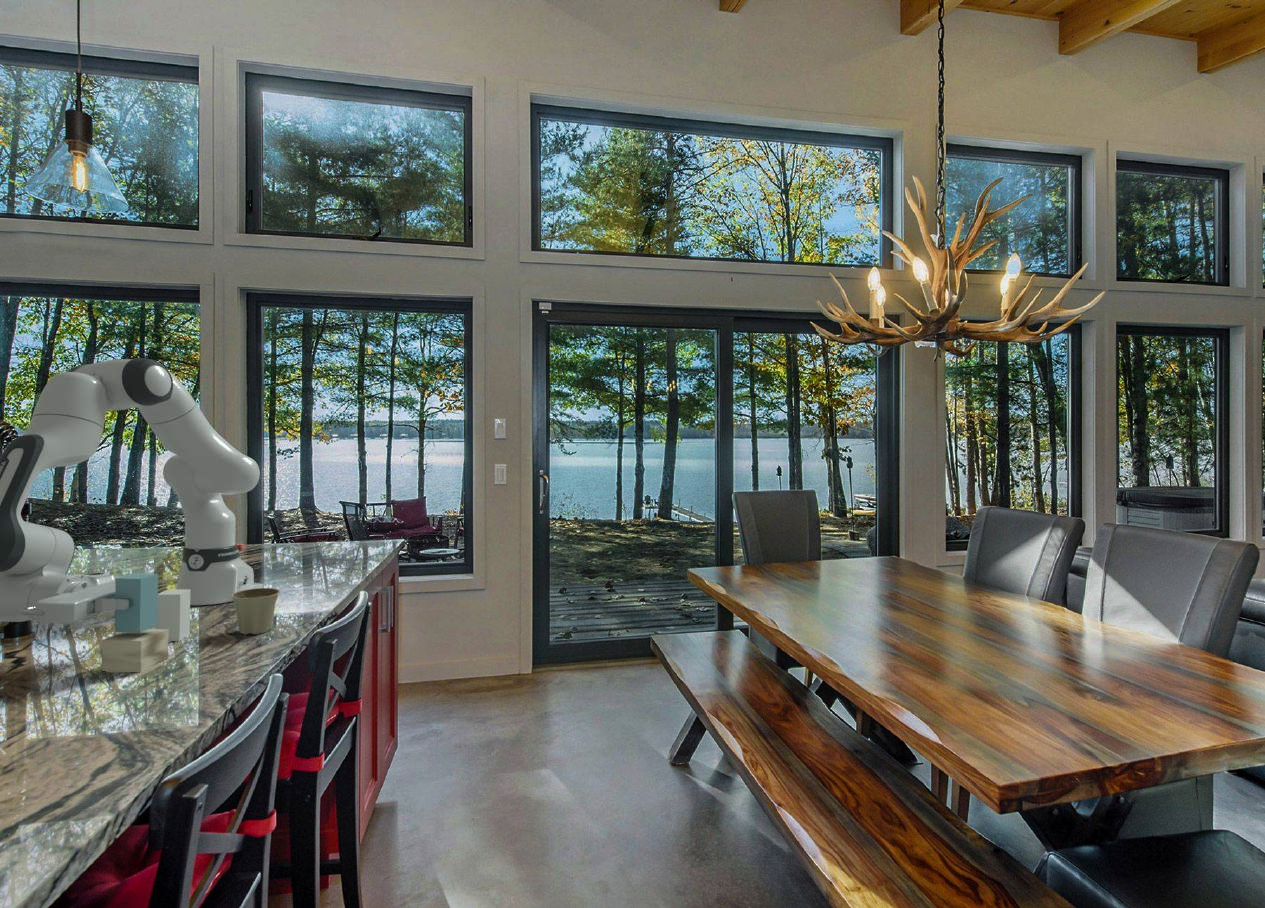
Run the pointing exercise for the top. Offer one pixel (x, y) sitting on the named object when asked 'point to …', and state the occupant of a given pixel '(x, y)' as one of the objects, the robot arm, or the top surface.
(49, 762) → the top surface
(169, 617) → the white block
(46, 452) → the robot arm
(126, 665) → the birch block
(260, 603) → the flower pot
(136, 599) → the teal block
